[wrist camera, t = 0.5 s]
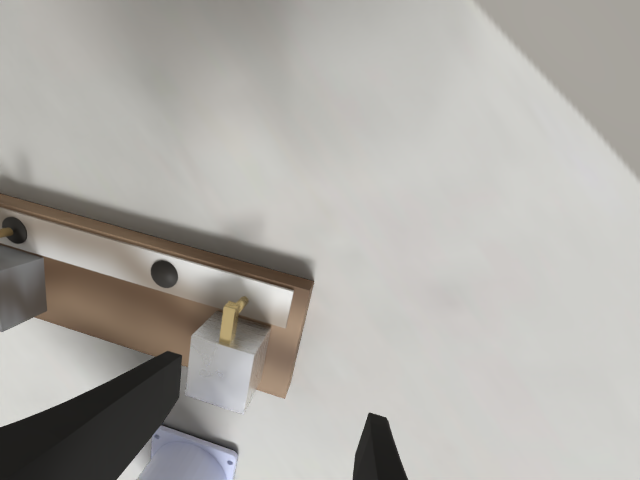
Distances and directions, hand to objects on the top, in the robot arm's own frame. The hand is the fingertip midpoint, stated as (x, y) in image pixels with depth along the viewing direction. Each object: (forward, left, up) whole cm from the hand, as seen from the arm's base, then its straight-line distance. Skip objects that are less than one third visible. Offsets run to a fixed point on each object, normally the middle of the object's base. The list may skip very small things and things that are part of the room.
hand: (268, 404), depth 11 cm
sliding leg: (-4, +4, -9) cm, 10 cm away
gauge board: (-4, +13, -10) cm, 17 cm away
